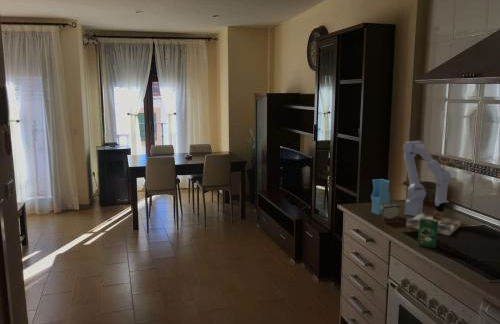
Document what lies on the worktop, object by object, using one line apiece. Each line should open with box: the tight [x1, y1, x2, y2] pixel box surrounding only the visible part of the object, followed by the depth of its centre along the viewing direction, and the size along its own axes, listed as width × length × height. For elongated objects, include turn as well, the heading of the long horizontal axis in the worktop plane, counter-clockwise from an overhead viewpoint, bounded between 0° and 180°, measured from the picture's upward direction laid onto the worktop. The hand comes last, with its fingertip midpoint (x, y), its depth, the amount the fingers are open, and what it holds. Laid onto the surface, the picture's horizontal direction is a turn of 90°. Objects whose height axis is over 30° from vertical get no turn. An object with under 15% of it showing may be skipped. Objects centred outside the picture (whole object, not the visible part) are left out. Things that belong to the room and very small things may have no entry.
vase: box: [370, 178, 391, 216], centre depth 252 cm, size 8×8×20 cm
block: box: [432, 209, 444, 220], centre depth 233 cm, size 4×4×4 cm
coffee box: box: [417, 218, 438, 249], centre depth 197 cm, size 8×3×13 cm, turn 68°
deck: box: [405, 213, 462, 236], centre depth 228 cm, size 22×22×4 cm
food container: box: [380, 202, 401, 224], centre depth 237 cm, size 12×6×10 cm, turn 110°
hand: (439, 215), depth 236 cm, fingers closed
